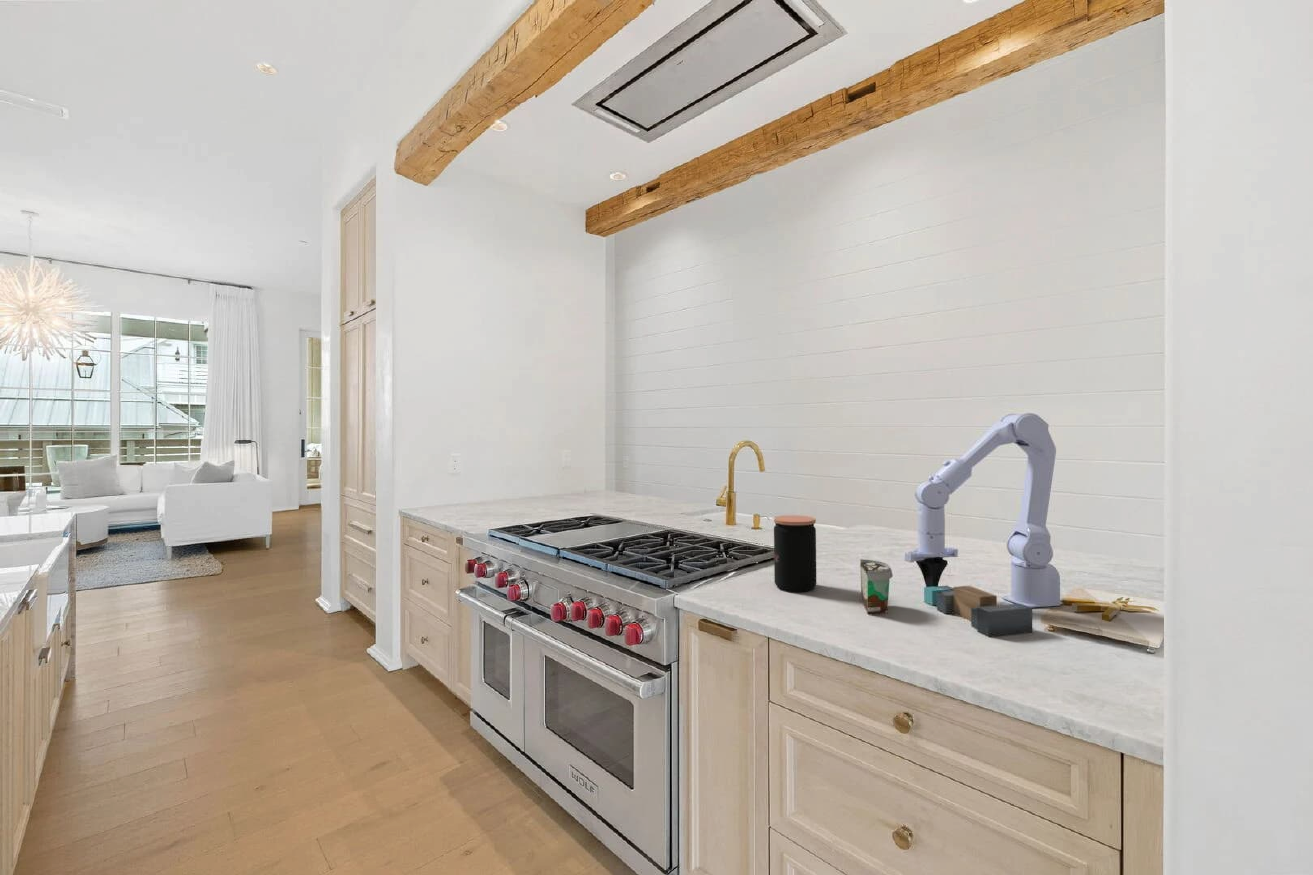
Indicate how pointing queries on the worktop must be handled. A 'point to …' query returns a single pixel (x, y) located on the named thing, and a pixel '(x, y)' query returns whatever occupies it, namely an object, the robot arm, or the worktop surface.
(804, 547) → the coffee jar
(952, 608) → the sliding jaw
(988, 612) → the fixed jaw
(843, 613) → the worktop surface
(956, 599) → the walnut block
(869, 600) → the food container
